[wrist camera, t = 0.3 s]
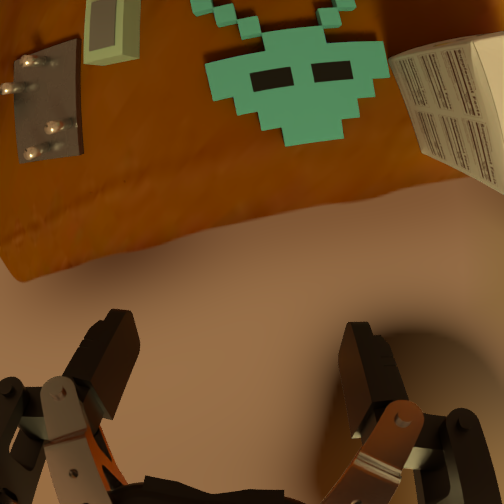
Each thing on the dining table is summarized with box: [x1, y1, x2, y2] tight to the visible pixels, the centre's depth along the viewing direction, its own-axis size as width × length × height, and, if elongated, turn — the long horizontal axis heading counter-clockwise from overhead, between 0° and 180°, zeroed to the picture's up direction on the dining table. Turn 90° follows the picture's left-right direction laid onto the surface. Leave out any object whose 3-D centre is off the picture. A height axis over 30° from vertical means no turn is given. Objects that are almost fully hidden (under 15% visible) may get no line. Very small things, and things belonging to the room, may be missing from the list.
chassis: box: [0, 39, 84, 164], centre depth 30 cm, size 16×12×5 cm
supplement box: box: [388, 31, 504, 195], centre depth 21 cm, size 17×13×18 cm
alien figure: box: [190, 0, 390, 147], centre depth 29 cm, size 20×2×20 cm
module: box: [84, 0, 141, 66], centre depth 26 cm, size 9×5×5 cm, turn 0°
